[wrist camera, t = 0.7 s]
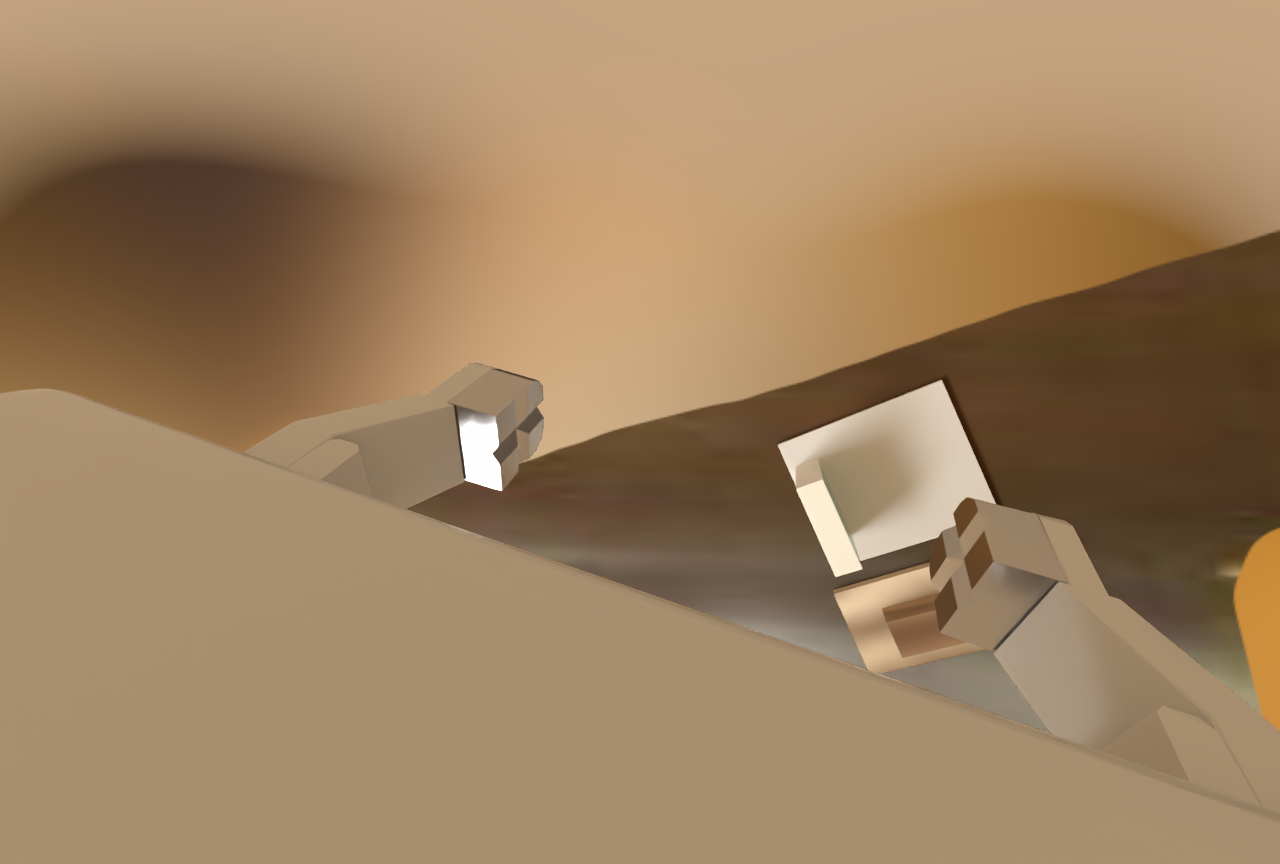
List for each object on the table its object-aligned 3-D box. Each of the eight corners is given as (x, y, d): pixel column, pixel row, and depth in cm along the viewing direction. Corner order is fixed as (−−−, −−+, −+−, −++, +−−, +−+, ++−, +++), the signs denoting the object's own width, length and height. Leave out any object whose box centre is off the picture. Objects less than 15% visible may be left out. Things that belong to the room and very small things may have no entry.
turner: (1080, 606, 50) (1097, 622, 47) (900, 650, 55) (906, 666, 52) (1055, 551, 50) (1071, 563, 47) (877, 600, 55) (882, 613, 52)
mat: (999, 516, 52) (1002, 517, 51) (832, 567, 57) (833, 569, 56) (940, 379, 51) (941, 380, 51) (777, 444, 57) (777, 445, 56)
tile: (852, 534, 55) (863, 568, 47) (828, 542, 56) (835, 577, 48) (818, 458, 55) (823, 479, 47) (795, 467, 56) (796, 488, 47)
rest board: (1094, 617, 51) (1099, 622, 50) (869, 670, 58) (870, 675, 57) (1054, 525, 50) (1059, 528, 49) (833, 590, 57) (833, 594, 56)
